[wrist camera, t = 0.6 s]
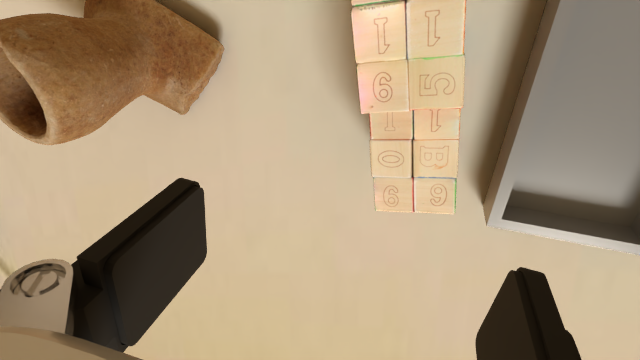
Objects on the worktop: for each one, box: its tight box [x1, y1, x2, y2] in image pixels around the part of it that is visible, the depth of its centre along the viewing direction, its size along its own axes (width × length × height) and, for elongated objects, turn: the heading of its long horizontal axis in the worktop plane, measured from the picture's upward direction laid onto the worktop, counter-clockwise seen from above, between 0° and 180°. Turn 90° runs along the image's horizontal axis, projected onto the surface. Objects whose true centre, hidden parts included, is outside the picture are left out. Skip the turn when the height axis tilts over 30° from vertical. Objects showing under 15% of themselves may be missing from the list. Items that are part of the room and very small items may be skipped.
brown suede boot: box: [0, 0, 224, 145], centre depth 33 cm, size 15×12×15 cm
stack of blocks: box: [351, 0, 466, 214], centre depth 27 cm, size 21×6×12 cm, turn 7°
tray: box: [483, 0, 640, 255], centre depth 27 cm, size 13×28×4 cm, turn 177°
